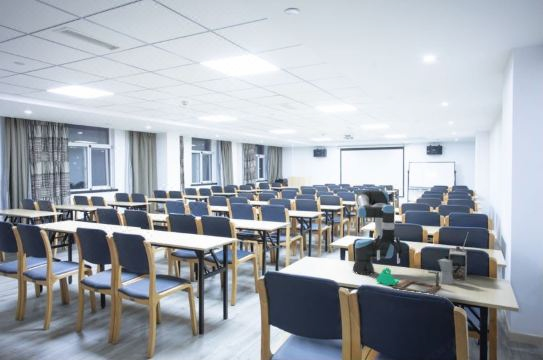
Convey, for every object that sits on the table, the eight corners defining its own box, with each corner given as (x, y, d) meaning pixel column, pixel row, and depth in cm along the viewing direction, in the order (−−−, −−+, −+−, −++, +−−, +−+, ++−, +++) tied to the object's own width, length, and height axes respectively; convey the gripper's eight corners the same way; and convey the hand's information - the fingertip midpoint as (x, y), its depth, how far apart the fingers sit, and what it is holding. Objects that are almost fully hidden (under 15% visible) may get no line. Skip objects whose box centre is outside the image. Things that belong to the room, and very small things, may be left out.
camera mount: (399, 283, 236) (399, 268, 235) (395, 286, 230) (395, 270, 229) (381, 280, 243) (381, 265, 243) (376, 283, 237) (376, 267, 237)
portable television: (448, 280, 243) (448, 235, 242) (449, 271, 264) (449, 230, 263) (468, 282, 237) (469, 236, 237) (468, 273, 258) (468, 231, 258)
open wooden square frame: (392, 288, 226) (392, 272, 226) (405, 280, 242) (405, 265, 241) (428, 296, 211) (428, 279, 211) (440, 287, 227) (440, 271, 227)
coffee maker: (433, 282, 239) (433, 254, 238) (439, 279, 245) (439, 252, 245) (458, 287, 228) (458, 258, 228) (462, 284, 234) (463, 256, 234)
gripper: (367, 227, 241) (367, 259, 242) (405, 231, 225) (405, 265, 225) (373, 226, 247) (373, 257, 247) (409, 230, 230) (409, 263, 230)
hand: (388, 261), depth 236 cm, fingers open, 13 cm apart
